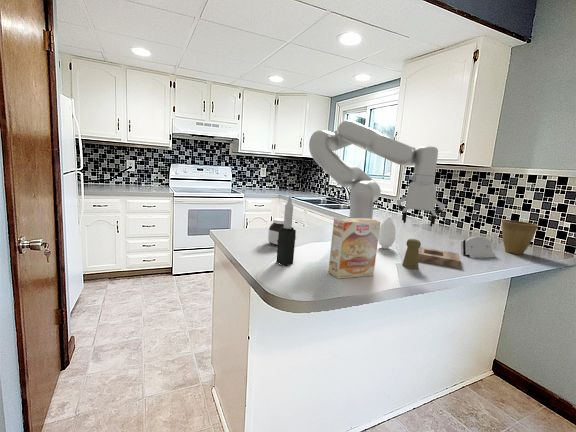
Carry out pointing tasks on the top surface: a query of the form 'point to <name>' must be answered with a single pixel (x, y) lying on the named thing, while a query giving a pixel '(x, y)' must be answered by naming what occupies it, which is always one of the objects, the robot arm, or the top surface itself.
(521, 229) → the plant pot
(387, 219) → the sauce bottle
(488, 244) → the grey piece
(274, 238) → the spread jar
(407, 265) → the cork
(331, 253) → the coffeecake box
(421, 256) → the tan flat frame
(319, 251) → the top surface
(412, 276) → the top surface
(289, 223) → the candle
